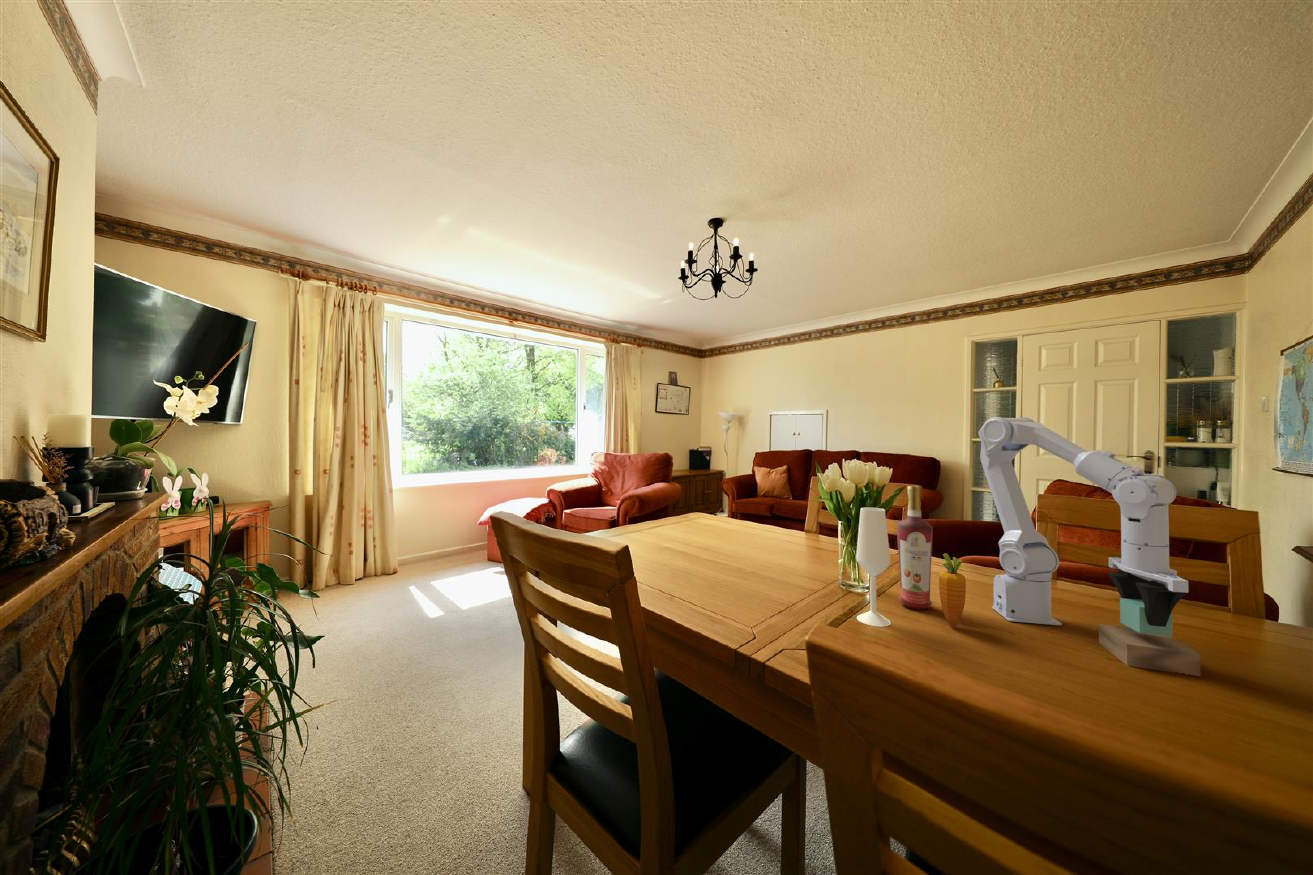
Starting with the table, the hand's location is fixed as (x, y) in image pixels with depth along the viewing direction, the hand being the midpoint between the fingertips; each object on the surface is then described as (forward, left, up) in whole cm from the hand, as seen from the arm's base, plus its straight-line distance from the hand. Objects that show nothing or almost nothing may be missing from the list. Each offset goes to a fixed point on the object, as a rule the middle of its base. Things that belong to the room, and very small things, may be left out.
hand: (1145, 619), depth 78 cm
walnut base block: (0, 0, -7) cm, 7 cm away
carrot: (-28, +6, -7) cm, 29 cm away
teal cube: (0, 0, -2) cm, 2 cm away
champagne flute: (-43, +6, -7) cm, 44 cm away
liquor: (-32, +17, -7) cm, 37 cm away
